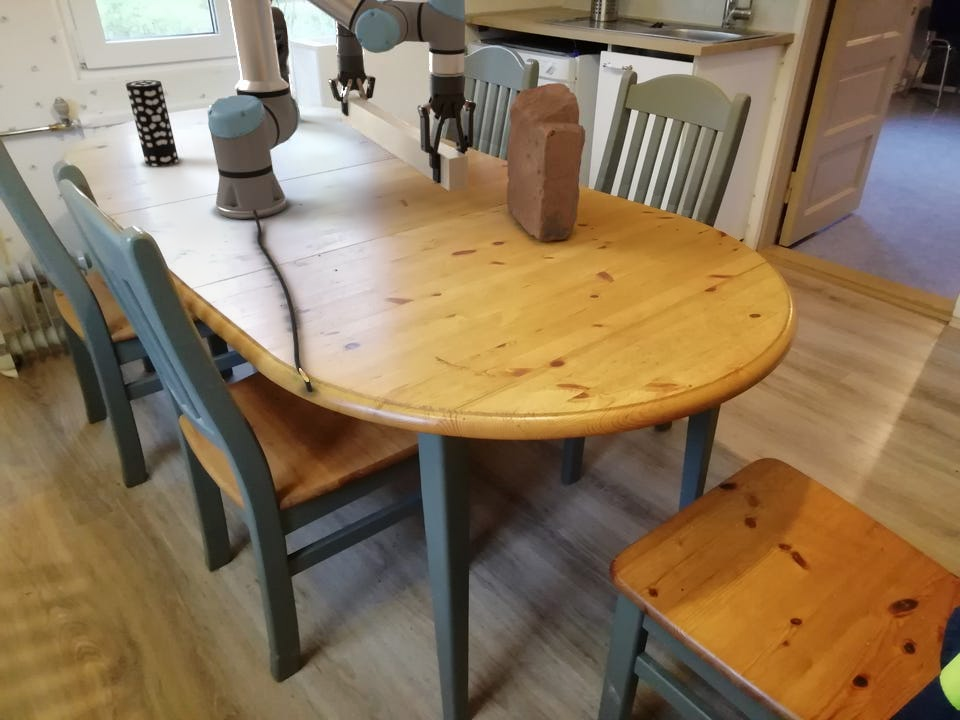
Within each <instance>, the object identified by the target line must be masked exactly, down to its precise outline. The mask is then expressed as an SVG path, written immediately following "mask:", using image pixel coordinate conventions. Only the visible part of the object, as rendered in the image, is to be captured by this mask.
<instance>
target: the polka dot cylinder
mask: <svg viewBox="0 0 960 720" xmlns="http://www.w3.org/2000/svg"><path fill="white" fill-rule="evenodd" d="M125 87H126V91H127V95H128V99H129V103H130V107H131V110H132V115H133V118H134V122H135V123H134V124H135V127H136V130H137V134H138V139H139V143H140V146H141V150H142V155H143V158H144V163H145V164H146V165H147V166H151V167H164V166H170V165H174V164H176V163H178V162H179V155H178V150H177V146H176V142H175V137H174V133H173V128H172V125H171V121H170V116H169V111H168V107H167V103H166V98H165V93H164V89H163V84H162V81H161V80H155V79H154V80H153V79H151V80H150V79H145V80H144V79H141V80H134V81H130V82H129V81H128V82H127V83H126V84H125Z"/></svg>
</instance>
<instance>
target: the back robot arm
mask: <svg viewBox="0 0 960 720" xmlns="http://www.w3.org/2000/svg"><path fill="white" fill-rule="evenodd" d="M273 1H274V0H270V2H271V5H272V4H273ZM271 10H272V17H273V24H274V32H275V39H276V46H277V54H278V61H279V68H280V76H281V78H282V79H284V80H285V81H286V82H287V83H288V85H289V92H290V94H291V96H292V98H293V99H294V94H293V86H292V85H293V84H292V79H291V70H290V63H289V56H290V41H289V28H288V23H287V18H286V16H285V14H284V12H283V10H281V8H279V7H277V6H271ZM334 23H335V24H334V25H335V26H334V27H335V36H336V39H335V47H336V48H335V49H336V59H337V60H336V61H337V70H338V71H337V72H338V73H337V76H336V77H334V78H329V79H328V84H329V88H330V90H331V93H332V96H333V99H334V100H335V101H337V102H339V103H340V102H341V106H340V109H341V108H342V113H343V114H344V115H345V116H348V103H347V98H348V95H349V94H350V92H352V91H357V93H358V96H359V97H361V98H363V99H365V100H367V101H369V99H372V98H373V97H374V92H375V85H376V80H377V79H376V77H375V76H373V75H367V73H366V71H365V68H366V67H365V66H366V65H365V48H363V47H362V45H361V44H360V43H359V41H358V39H357V36H356V35H355V34H354V33H353V32H351V31H350V30H348V29H347V28H346V27H344V26H343V25H341V24H340V23H338V22H337V21H336V20H334ZM365 83H366V84H367V85H366V91H365V88H364V86H363V85H364V84H365ZM339 84H340V85H341V90H340V92H339V90H338V86H339ZM340 95H341V97H340ZM222 98H223V97H221V98H218V99H216V100H215V101H217V100H219V99H222Z"/></svg>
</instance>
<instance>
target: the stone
mask: <svg viewBox="0 0 960 720" xmlns="http://www.w3.org/2000/svg"><path fill="white" fill-rule="evenodd" d="M577 98H578V97H577V96H576V95H575V93H574V92H571V89H570V87H568V86H567V85H566V84H565V83H561V82H555V83H554V82H553V83H546V84H542V85H538V86H536V87H533V88H524V89H522V90H521V91H520V92H518V94H517V96H516V97H515V99H514V100H513V102H512V104H511V106H510V108H509V119H510V131H509V136H508V144H507V149H506V150H507V151H506V152H507V153H506V159H507V160H506V161H507V164H506V165H507V172H506V173H507V178H508V179H507V180H508V181H507V183H506V204H507V208H508V211H509V213H510V214H511V215H512V216H513V218H514V219H515V220H516V221H517V222H518V223H519V224H520V225H521V226H522V228H523V229H524V230H525V231H526V232H527V233H528V234H529V235H530V236H534V237H535V239H536V240H537V241H539V242H551V241H556V240H557V241H558V240H560V241H561V240H565V239H566V238H567V237H568V236H569V234H571V232H573V230H574V227H575V225H576V221H577V218H578V206H579V200H580V192H581V191H580V173H581V165H582V155H583V151H584V146H585V143H586V129H584V126H583V125H580V124H579V122H580V107H579V103H578V99H577Z"/></svg>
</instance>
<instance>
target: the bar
mask: <svg viewBox="0 0 960 720" xmlns="http://www.w3.org/2000/svg"><path fill="white" fill-rule="evenodd" d="M339 95H340V97H341V94H339ZM347 103H348V116H345V115H344V114H343V113H342V108H341V102H340V101H339V104H340V115H341V116H340V117H341V121H342V122H343V123H345V124H346V125H348V126H349V127H351V128H352V129H354V130H356V131H357V132H358V133H360V134H361V135H363V136H364V137H366V138H368V139H369V140H371V141H372V142H374V143H375V144H377V145H378V146H380V147H381V148H383V149H384V150H386V151H387V152H389V153H390V154H392V155H393V156H395V157H396V158H398V159H399V160H401V161H402V162H404V163H406V164H407V165H408V166H410V167H412V168H413V169H415V170H416V171H418V172H419V173H421V174H422V175H423V176H424V177H427V178H428V179H430V180H431V181H433V169H432V168H431V167H430V166H429V153H426V152H424V151H423V150H421V135H420V128H418V127H416V126H414V125H412V124H410V123H408V122H407V121H405V120H403V119H401V118H400V117H397V116H396V115H394V114H392V113H391V112H388V111H387V110H385V109H383V108H381V107H380V106H378V105H376V104H374V103H372V102H370V101H369V100H365V99H363V98H361V97H360V96H359V94H356V93H349V95H348V98H347ZM430 137H431V135H430ZM455 149H456V148H453V147H452V146H450V145H448V144H447V143H445V142H443V141H441V140H440V143H439V147H438V152H437V153H438V154H440V155H441V183H436V182H435V181H433V182H435V183H436V184H437V185H439V186H441V187H442V188H444V189H445V190H447V191H448V192H454V191H459V190H467V189H468V172H469V169H468V164H469V163H468V161H469V160H468V159H469V156H468V155H466V153H465V154H463V153H461V152H459V151H457V150H455Z"/></svg>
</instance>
